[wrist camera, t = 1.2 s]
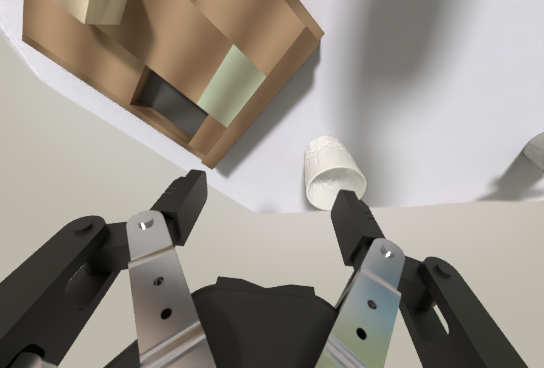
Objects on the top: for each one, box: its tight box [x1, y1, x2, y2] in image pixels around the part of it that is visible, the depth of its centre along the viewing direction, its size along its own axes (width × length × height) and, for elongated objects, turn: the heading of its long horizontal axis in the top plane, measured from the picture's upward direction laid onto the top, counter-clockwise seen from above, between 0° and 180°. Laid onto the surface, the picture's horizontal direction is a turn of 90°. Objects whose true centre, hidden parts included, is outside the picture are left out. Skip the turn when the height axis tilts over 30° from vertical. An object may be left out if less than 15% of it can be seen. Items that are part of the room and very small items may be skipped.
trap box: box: [22, 0, 325, 169], centre depth 23 cm, size 26×24×5 cm
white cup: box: [304, 136, 367, 211], centre depth 30 cm, size 8×8×10 cm
